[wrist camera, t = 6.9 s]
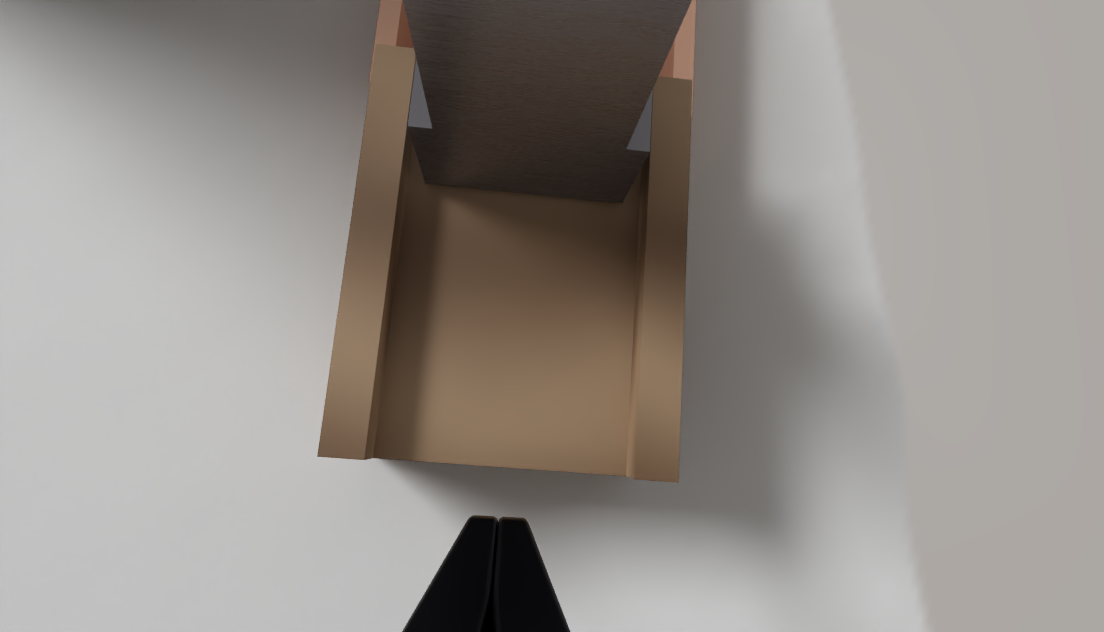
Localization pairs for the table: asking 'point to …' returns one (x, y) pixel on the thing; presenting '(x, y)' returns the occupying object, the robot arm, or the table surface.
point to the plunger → (537, 92)
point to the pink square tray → (676, 65)
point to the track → (510, 309)
